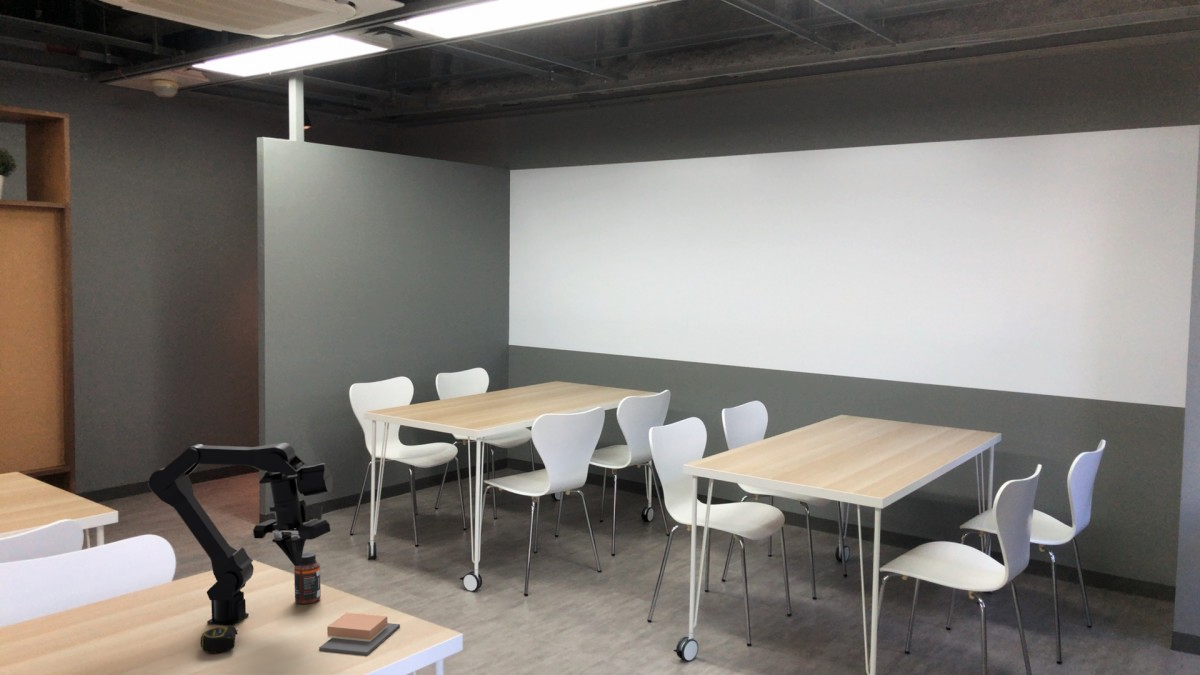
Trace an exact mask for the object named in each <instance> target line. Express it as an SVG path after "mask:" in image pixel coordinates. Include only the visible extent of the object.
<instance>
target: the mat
mask: <svg viewBox="0 0 1200 675" xmlns="http://www.w3.org/2000/svg"><path fill="white" fill-rule="evenodd" d="M400 627H401V624H400V623H389V622H387V628H386V629H384V630H383V631H382V632H381V633H380V634H379V635H377V636H376V637H375V638H374V639H373V640H371V641H370V642H369V641H359V640H349V639H338V638H329V639H328V640H327V641H325V643H323V644H322V645H320V646H319V647H318V650H319V651H324V652H333V653H344V654H352V655H361V656H368V655H370V653H372V652H373V651H374V650H375V649H376V648H378V646H380V644H382V643H383V642H384V641H386V640H387V638H389V637H390V636H391V635H392V634H394V633H395V632H396V631H397V630H398V629H399V628H400Z"/></svg>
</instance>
